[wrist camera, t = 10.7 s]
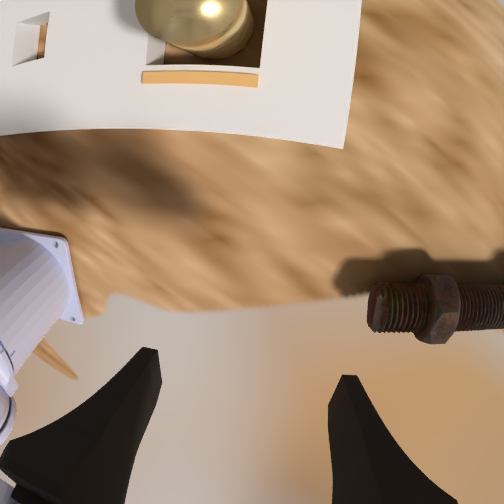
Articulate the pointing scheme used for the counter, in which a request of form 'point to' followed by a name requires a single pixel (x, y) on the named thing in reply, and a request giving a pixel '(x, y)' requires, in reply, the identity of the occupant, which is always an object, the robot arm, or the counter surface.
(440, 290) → the bolt
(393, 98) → the counter surface
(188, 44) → the brass cylinder
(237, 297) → the counter surface
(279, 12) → the fitting plate
